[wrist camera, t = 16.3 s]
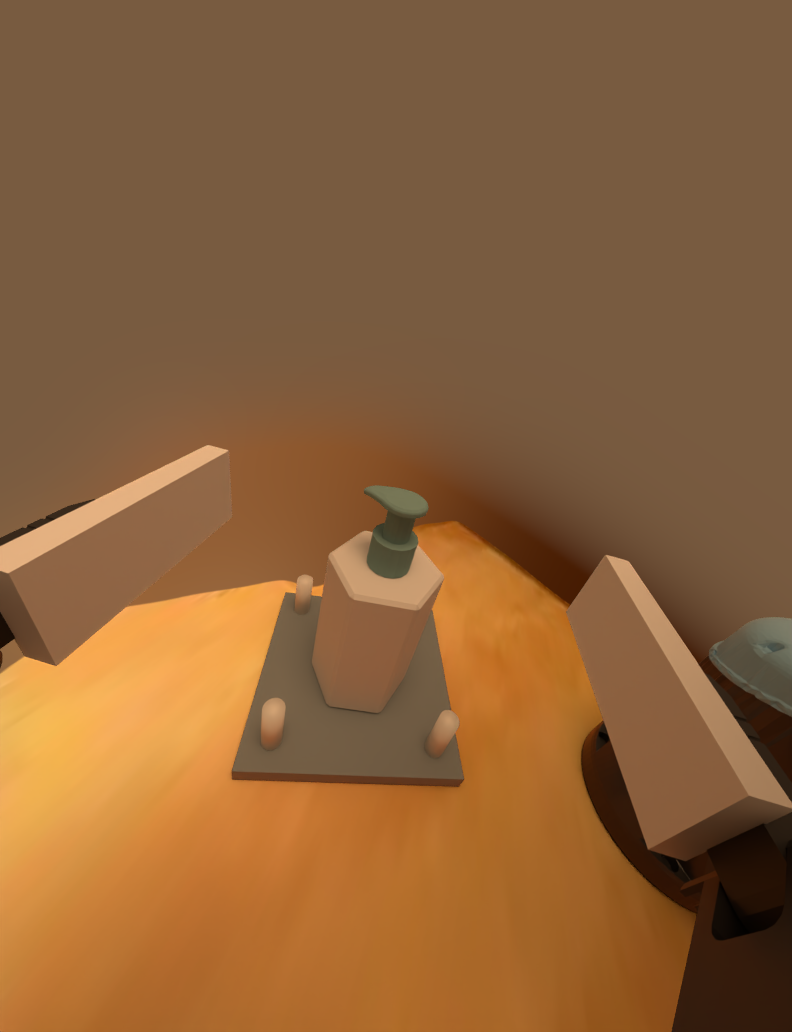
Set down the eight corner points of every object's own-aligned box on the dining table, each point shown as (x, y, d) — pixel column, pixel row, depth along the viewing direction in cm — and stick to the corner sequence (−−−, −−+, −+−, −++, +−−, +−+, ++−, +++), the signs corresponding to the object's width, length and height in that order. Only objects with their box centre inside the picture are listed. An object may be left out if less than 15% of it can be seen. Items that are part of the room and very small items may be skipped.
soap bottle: (353, 619, 43) (391, 461, 32) (415, 661, 40) (481, 502, 29) (293, 678, 35) (315, 494, 24) (364, 737, 32) (429, 556, 21)
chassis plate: (429, 617, 49) (442, 584, 45) (458, 786, 32) (483, 753, 28) (285, 600, 45) (288, 563, 42) (232, 779, 28) (230, 740, 25)
